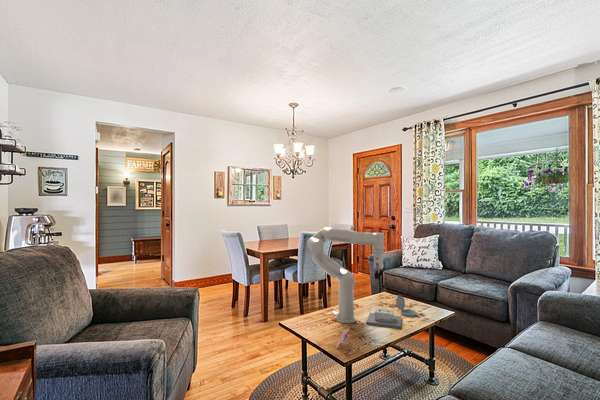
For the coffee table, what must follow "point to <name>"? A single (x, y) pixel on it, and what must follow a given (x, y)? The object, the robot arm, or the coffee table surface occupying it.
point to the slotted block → (384, 315)
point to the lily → (344, 337)
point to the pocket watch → (401, 305)
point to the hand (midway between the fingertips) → (378, 277)
